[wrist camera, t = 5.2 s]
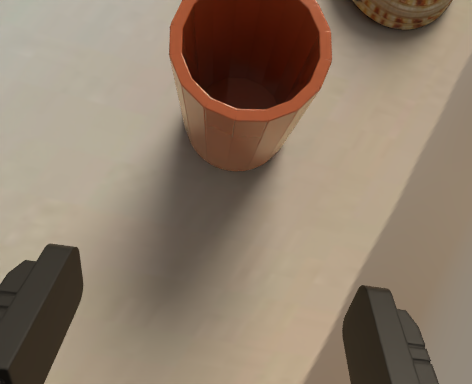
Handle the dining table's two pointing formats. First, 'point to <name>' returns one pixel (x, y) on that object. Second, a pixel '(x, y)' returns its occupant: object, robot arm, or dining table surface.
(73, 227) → the dining table surface
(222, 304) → the dining table surface
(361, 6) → the seashell
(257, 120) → the cup
